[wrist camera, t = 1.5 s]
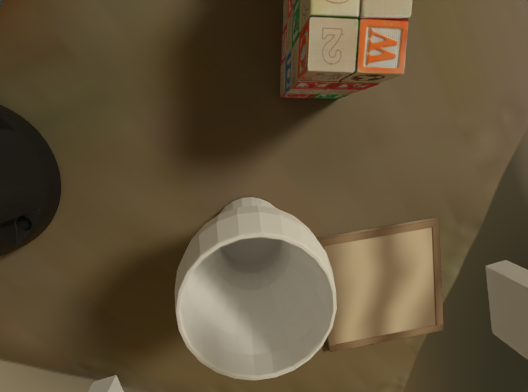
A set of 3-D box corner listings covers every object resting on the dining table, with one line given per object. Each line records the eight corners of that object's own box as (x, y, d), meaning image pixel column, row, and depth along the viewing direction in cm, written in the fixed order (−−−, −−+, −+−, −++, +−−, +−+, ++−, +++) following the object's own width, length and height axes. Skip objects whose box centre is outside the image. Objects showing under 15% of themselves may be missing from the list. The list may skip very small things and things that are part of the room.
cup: (287, 173, 31) (330, 203, 16) (306, 265, 33) (359, 364, 18) (188, 196, 31) (141, 248, 16) (213, 287, 33) (192, 407, 18)
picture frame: (328, 347, 35) (330, 352, 35) (314, 238, 33) (316, 240, 32) (439, 326, 36) (443, 330, 35) (435, 217, 33) (439, 219, 33)
